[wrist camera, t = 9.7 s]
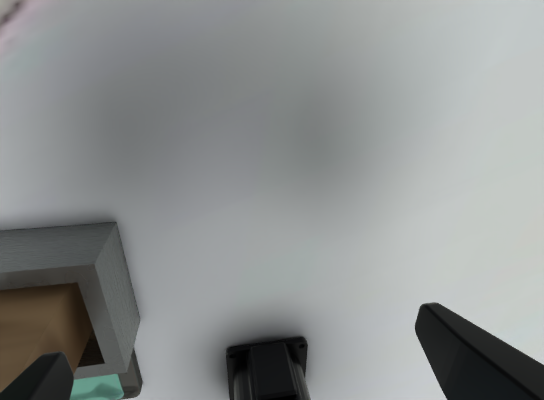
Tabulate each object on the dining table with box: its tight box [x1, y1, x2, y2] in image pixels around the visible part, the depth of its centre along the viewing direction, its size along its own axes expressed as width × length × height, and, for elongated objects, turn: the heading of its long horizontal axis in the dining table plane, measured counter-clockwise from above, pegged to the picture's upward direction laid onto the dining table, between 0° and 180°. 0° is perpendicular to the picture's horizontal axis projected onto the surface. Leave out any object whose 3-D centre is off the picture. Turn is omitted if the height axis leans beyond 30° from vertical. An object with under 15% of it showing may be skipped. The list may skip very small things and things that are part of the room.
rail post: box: [0, 282, 93, 392], centre depth 16 cm, size 4×4×10 cm
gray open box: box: [0, 222, 140, 380], centre depth 18 cm, size 8×8×4 cm
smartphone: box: [70, 347, 142, 400], centre depth 23 cm, size 7×1×15 cm
